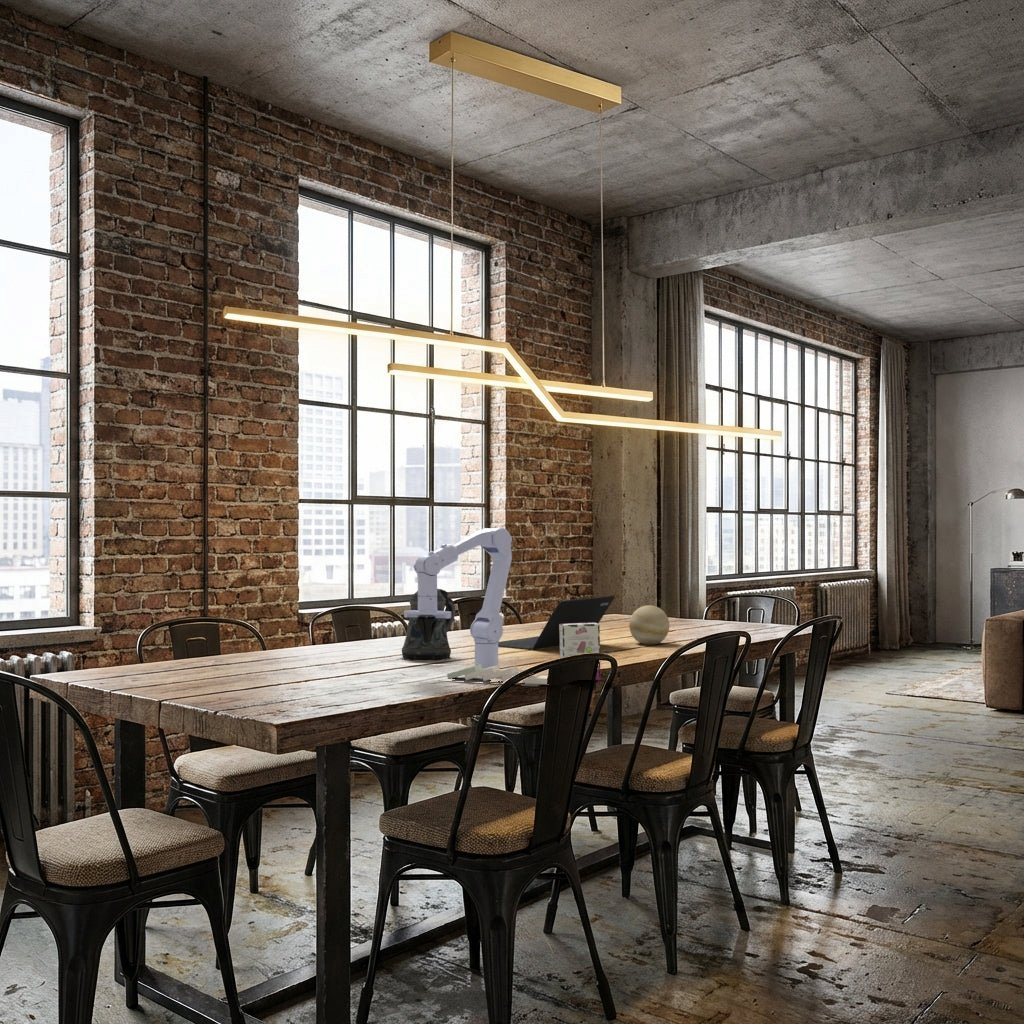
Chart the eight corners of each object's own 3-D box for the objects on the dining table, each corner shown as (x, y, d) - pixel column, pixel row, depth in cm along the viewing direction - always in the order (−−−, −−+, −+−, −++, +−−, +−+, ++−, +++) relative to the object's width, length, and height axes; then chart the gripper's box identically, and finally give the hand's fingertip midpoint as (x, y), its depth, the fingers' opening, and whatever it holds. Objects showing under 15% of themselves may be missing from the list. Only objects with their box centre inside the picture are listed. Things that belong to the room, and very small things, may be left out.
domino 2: (482, 675, 295) (510, 668, 292) (488, 673, 300) (516, 665, 297) (483, 681, 295) (511, 673, 292) (490, 678, 299) (518, 671, 296)
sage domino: (446, 673, 299) (474, 666, 296) (453, 671, 303) (480, 664, 300) (448, 679, 298) (475, 671, 296) (455, 677, 303) (482, 669, 300)
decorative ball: (648, 642, 400) (647, 603, 400) (677, 645, 388) (677, 605, 388) (621, 645, 390) (620, 605, 390) (650, 648, 378) (650, 607, 379)
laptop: (538, 640, 409) (538, 591, 409) (616, 647, 384) (615, 595, 385) (481, 648, 384) (481, 596, 384) (560, 656, 359) (560, 600, 360)
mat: (419, 680, 299) (419, 678, 299) (432, 676, 308) (432, 674, 308) (537, 686, 287) (537, 685, 287) (547, 682, 295) (547, 680, 295)
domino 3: (501, 676, 293) (529, 668, 290) (507, 674, 297) (535, 666, 294) (503, 682, 293) (531, 673, 290) (509, 679, 297) (537, 671, 294)
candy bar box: (596, 678, 303) (595, 622, 303) (600, 680, 298) (600, 623, 298) (559, 679, 301) (558, 623, 301) (563, 681, 296) (563, 624, 296)
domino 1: (464, 674, 297) (492, 666, 294) (471, 672, 301) (498, 664, 298) (465, 680, 297) (493, 672, 294) (472, 678, 301) (500, 670, 298)
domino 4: (519, 677, 291) (549, 678, 288) (525, 674, 296) (555, 676, 292) (519, 683, 291) (549, 684, 288) (525, 680, 296) (555, 682, 292)
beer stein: (393, 662, 342) (393, 586, 342) (416, 655, 360) (416, 583, 361) (440, 663, 337) (440, 587, 337) (460, 656, 356) (460, 584, 356)
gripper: (399, 596, 304) (399, 642, 304) (444, 597, 299) (444, 644, 299) (409, 595, 311) (410, 640, 310) (454, 596, 306) (454, 642, 305)
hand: (427, 642), depth 305 cm, fingers closed
